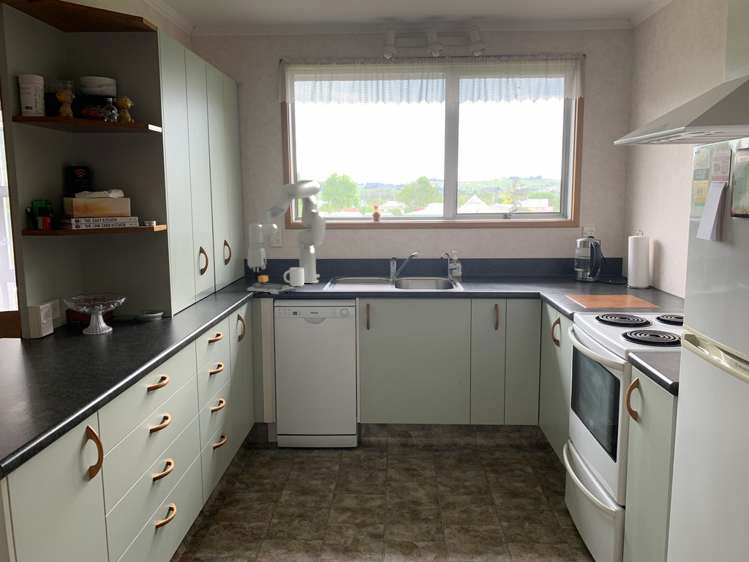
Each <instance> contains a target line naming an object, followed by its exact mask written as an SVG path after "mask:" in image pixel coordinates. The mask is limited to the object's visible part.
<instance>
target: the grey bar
mask: <svg viewBox="0 0 749 562" xmlns="http://www.w3.org/2000/svg"><path fill="white" fill-rule="evenodd" d="M292 290H295V291H297V289H296V287H294V289H289V290H285V291H281V292H280V294H279V295H284V294H286V293H285V292H288V291H292ZM292 292H293V291H292ZM288 293H289V292H288Z"/></svg>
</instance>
